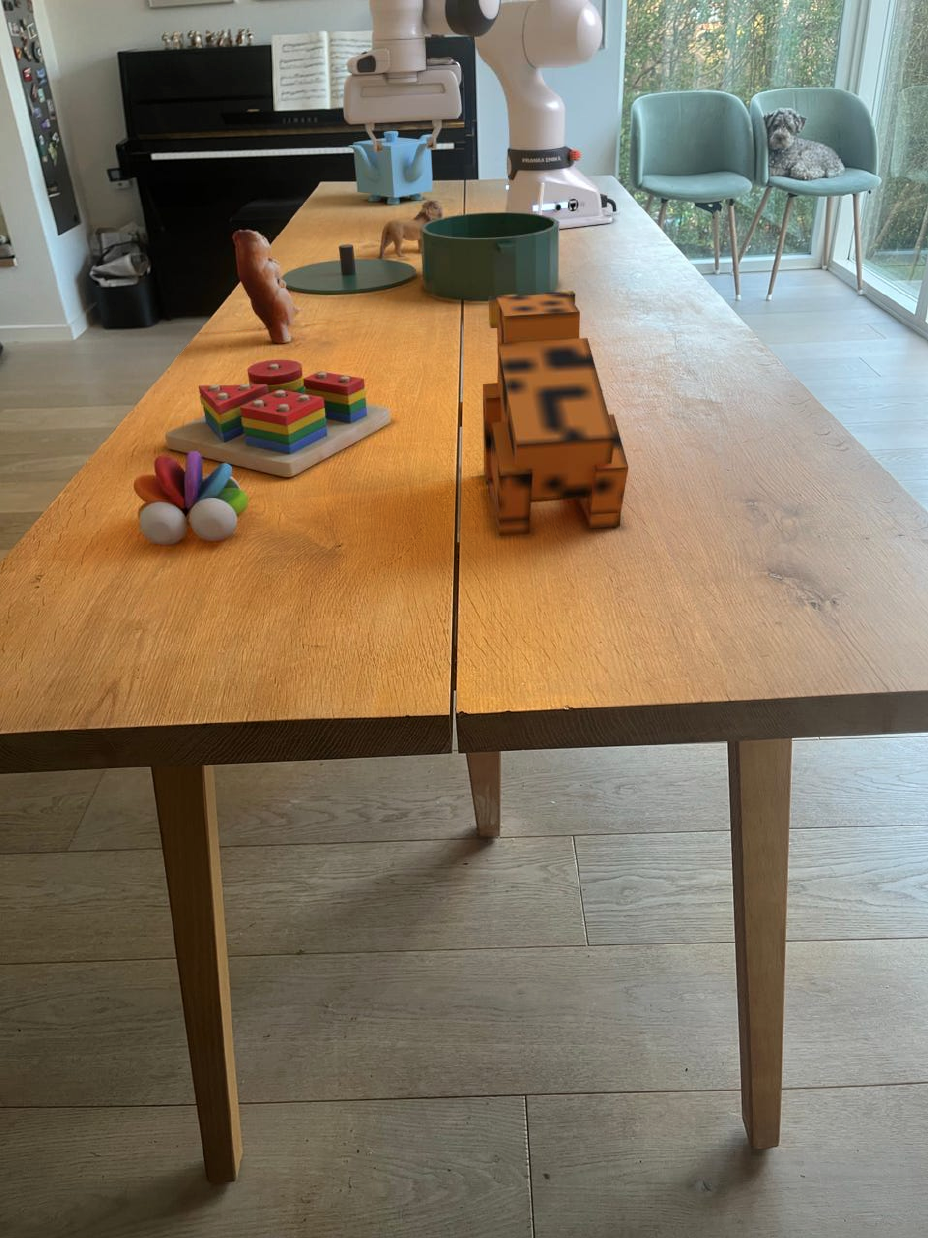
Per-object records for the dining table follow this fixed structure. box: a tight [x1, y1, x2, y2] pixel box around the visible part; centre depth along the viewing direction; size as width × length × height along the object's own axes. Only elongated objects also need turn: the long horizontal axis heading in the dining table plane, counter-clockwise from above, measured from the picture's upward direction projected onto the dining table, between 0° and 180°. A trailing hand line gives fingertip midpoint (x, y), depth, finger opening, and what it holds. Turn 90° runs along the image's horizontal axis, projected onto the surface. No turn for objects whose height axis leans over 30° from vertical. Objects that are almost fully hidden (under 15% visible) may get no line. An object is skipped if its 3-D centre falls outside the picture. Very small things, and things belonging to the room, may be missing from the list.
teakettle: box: [347, 130, 434, 206], centre depth 231 cm, size 19×19×15 cm
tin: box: [420, 211, 560, 302], centre depth 157 cm, size 22×27×10 cm
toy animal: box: [482, 290, 629, 536], centre depth 88 cm, size 10×20×16 cm, turn 5°
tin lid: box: [281, 243, 417, 295], centre depth 165 cm, size 23×23×6 cm
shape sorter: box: [165, 359, 392, 478], centre depth 105 cm, size 18×17×6 cm
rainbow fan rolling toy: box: [133, 451, 249, 547], centre depth 87 cm, size 8×10×7 cm
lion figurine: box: [377, 199, 444, 260], centre depth 179 cm, size 15×5×9 cm, turn 129°
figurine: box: [232, 229, 302, 344], centre depth 134 cm, size 6×8×15 cm
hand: (404, 150), depth 172 cm, fingers open, 8 cm apart
